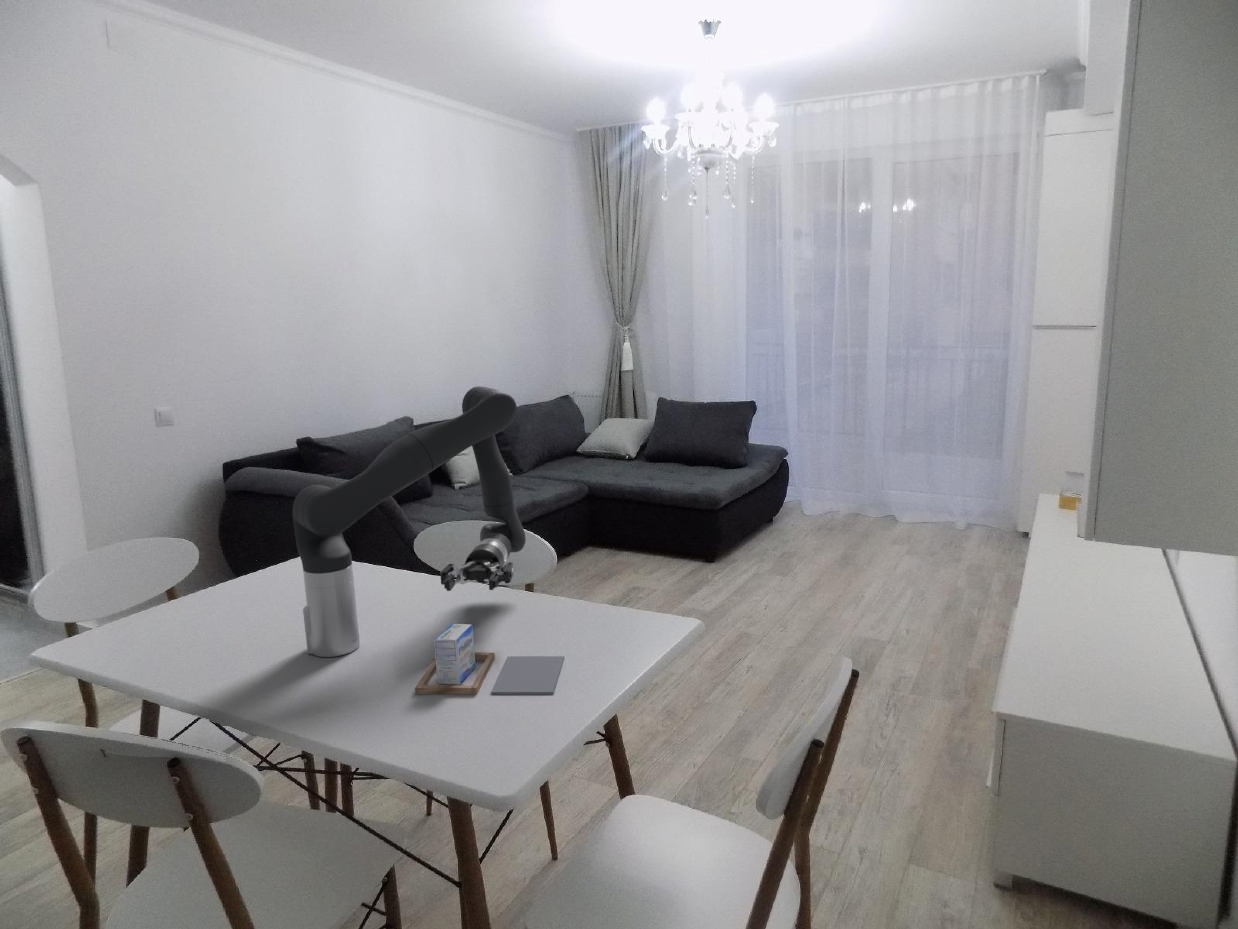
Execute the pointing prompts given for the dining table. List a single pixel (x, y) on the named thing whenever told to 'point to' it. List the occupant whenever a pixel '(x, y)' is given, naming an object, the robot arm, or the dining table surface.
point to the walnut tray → (455, 689)
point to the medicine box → (455, 654)
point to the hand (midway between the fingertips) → (469, 585)
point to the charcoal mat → (529, 675)
